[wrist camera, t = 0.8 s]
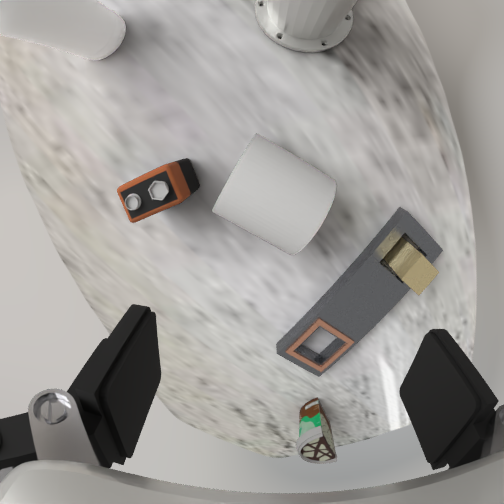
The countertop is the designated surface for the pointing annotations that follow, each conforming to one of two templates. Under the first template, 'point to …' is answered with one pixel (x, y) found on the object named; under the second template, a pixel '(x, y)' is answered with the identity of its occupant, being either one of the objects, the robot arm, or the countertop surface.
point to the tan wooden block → (410, 265)
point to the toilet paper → (276, 196)
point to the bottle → (64, 25)
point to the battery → (158, 189)
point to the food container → (315, 434)
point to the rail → (356, 298)
